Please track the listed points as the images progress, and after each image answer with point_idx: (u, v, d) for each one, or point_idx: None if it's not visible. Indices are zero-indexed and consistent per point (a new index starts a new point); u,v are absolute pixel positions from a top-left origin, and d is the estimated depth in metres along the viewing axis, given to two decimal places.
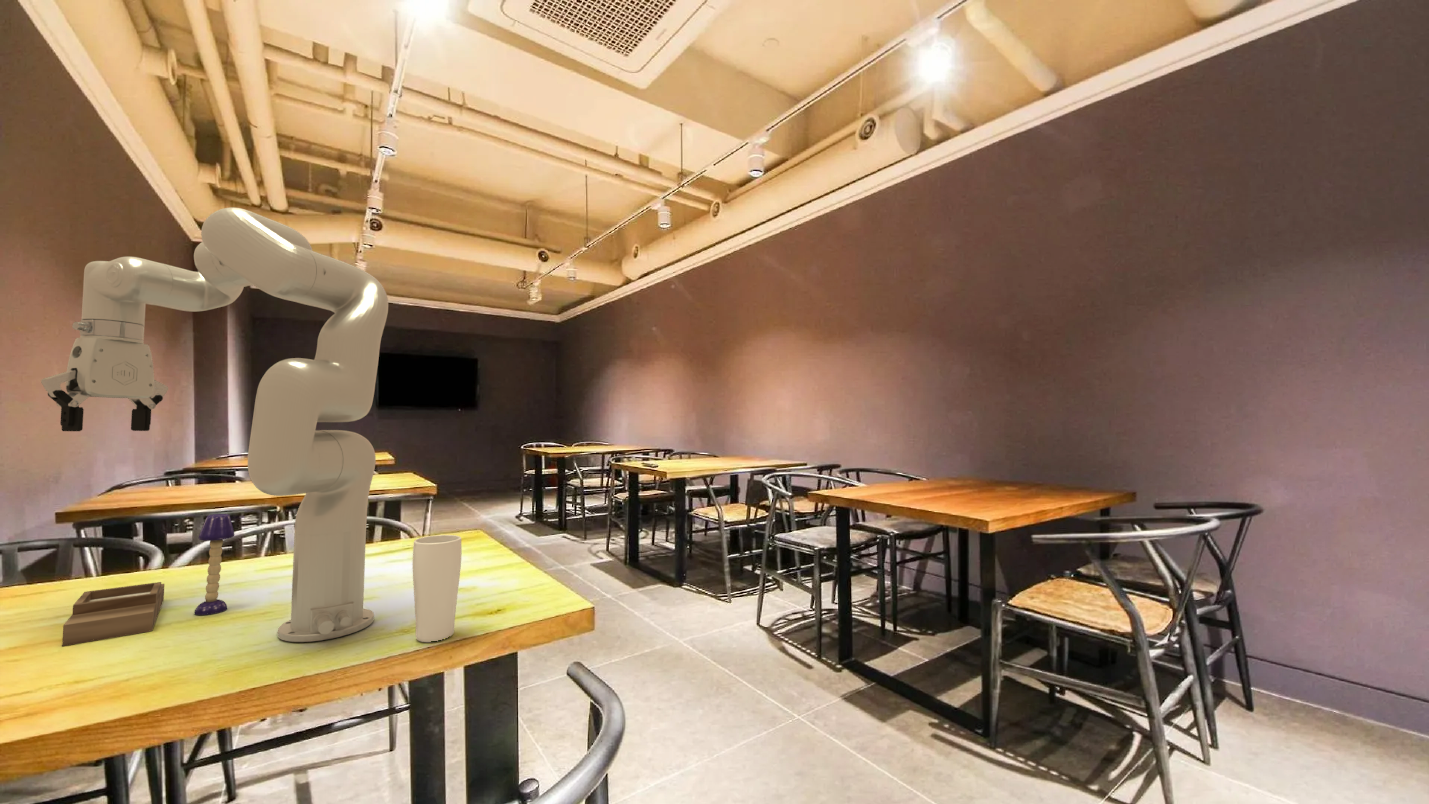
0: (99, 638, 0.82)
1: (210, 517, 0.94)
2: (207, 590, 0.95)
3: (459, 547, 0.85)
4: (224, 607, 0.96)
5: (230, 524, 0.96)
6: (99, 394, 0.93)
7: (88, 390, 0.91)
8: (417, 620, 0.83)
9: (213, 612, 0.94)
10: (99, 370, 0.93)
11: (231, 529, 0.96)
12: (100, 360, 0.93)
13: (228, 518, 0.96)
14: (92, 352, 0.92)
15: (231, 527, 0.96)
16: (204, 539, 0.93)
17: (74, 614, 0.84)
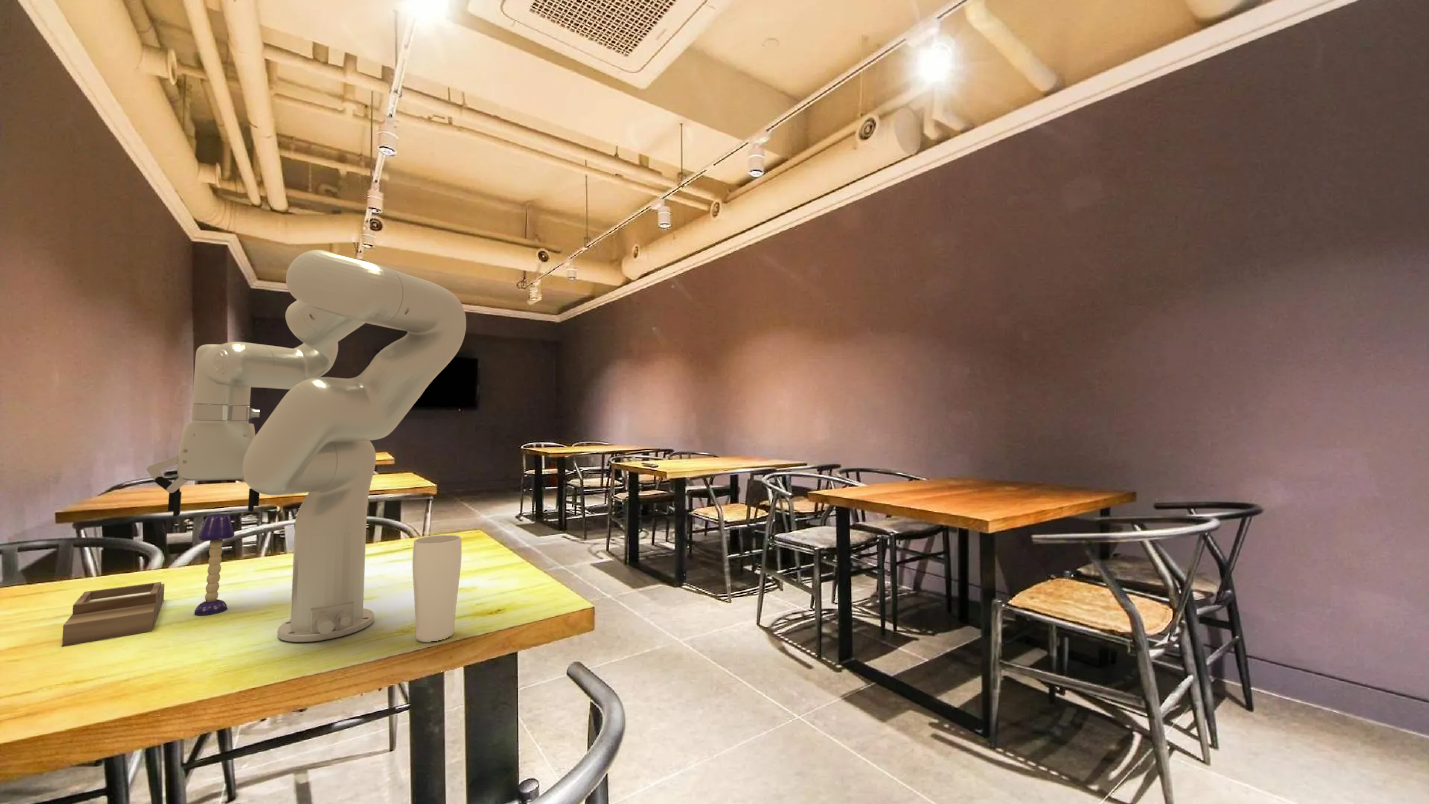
0: (99, 638, 0.82)
1: (210, 517, 0.94)
2: (207, 590, 0.95)
3: (459, 547, 0.85)
4: (224, 607, 0.96)
5: (230, 524, 0.96)
6: None
7: None
8: (417, 620, 0.83)
9: (213, 612, 0.94)
10: None
11: (231, 529, 0.96)
12: None
13: (228, 518, 0.96)
14: None
15: (231, 527, 0.96)
16: (204, 539, 0.93)
17: (74, 614, 0.84)
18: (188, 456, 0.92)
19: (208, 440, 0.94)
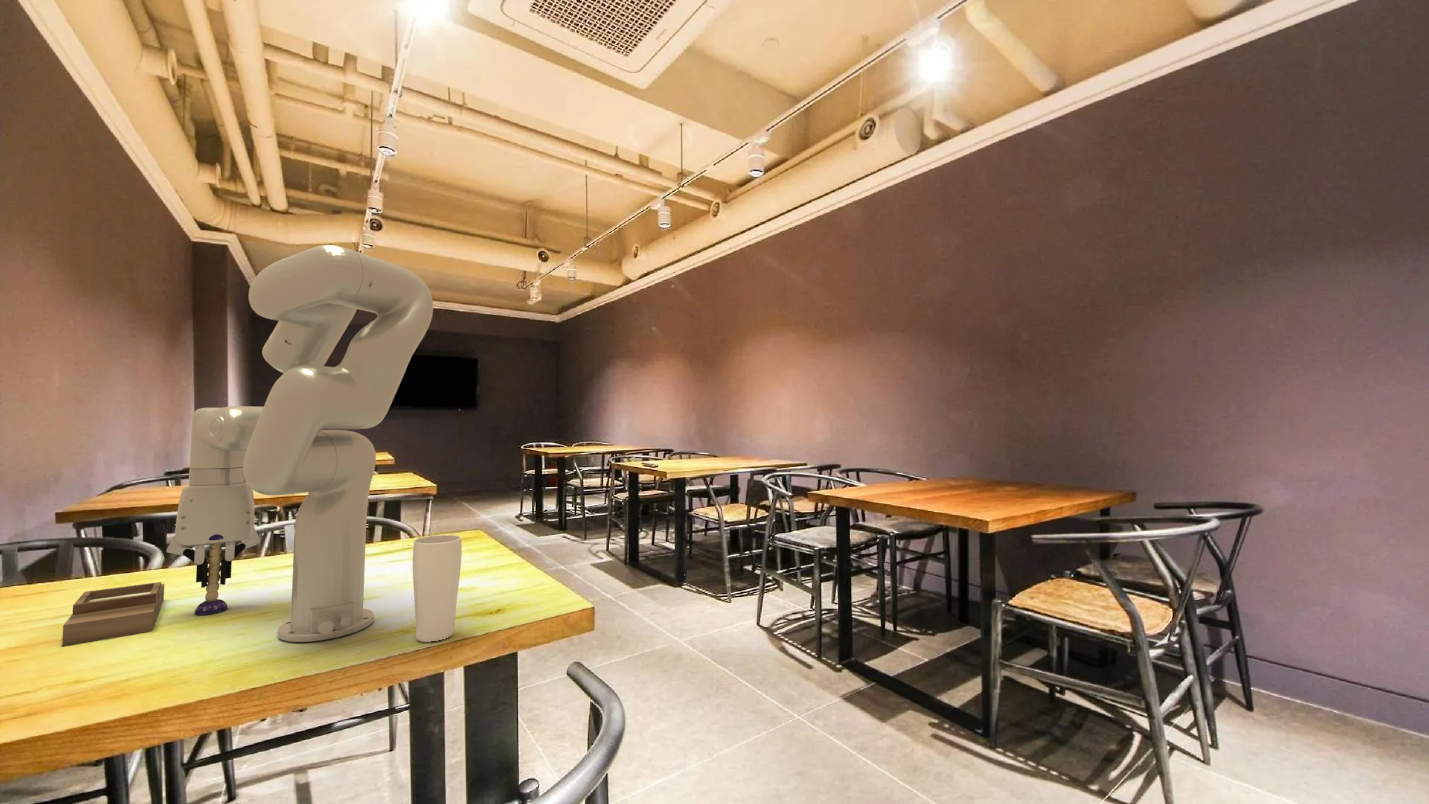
0: (99, 638, 0.82)
1: None
2: (207, 590, 0.95)
3: (459, 547, 0.85)
4: (224, 606, 0.96)
5: None
6: None
7: None
8: (417, 620, 0.83)
9: (214, 612, 0.94)
10: None
11: None
12: None
13: None
14: None
15: None
16: None
17: (74, 614, 0.84)
18: (186, 522, 0.92)
19: (206, 505, 0.93)
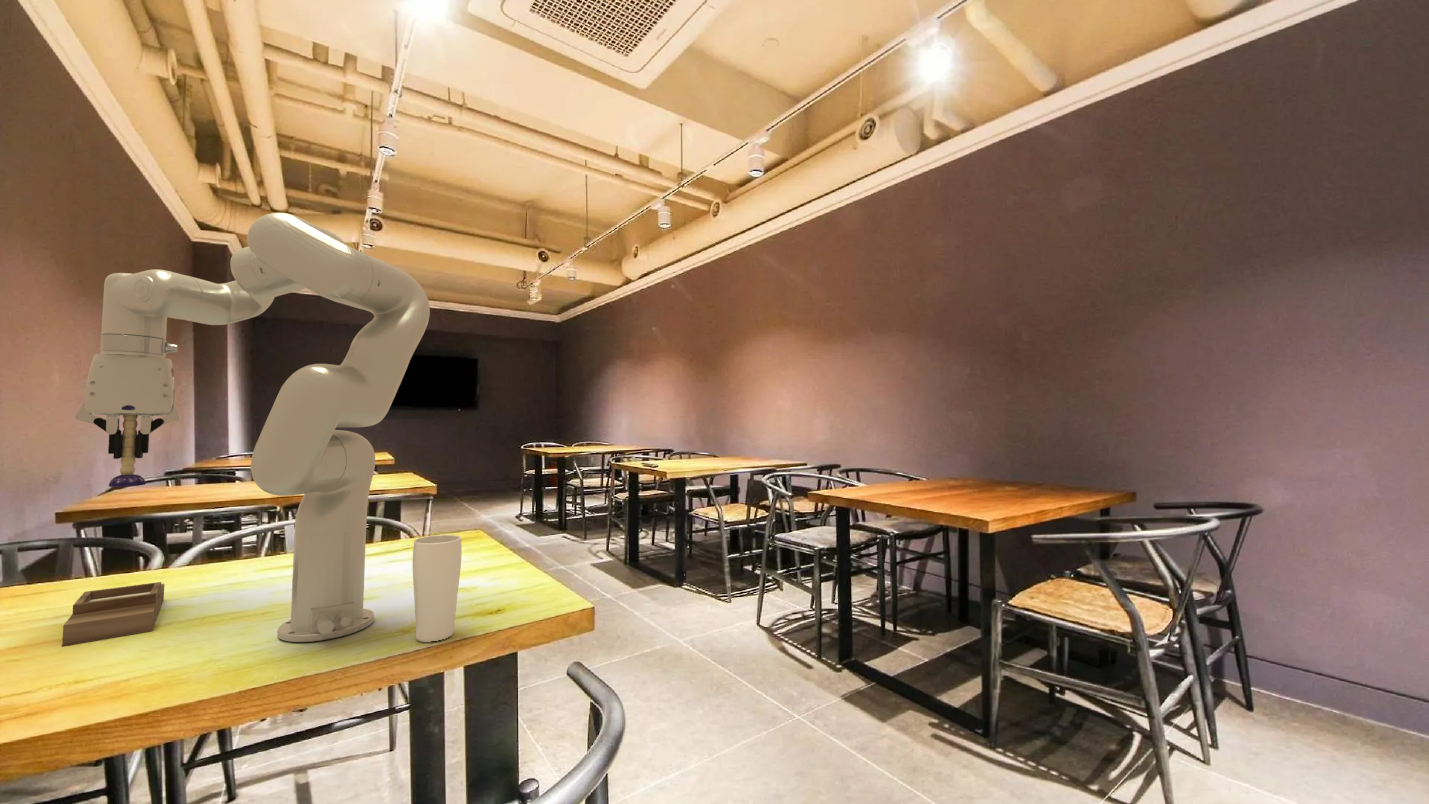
0: (99, 638, 0.82)
1: None
2: (122, 463, 0.91)
3: (459, 547, 0.85)
4: (141, 481, 0.92)
5: None
6: None
7: None
8: (417, 620, 0.83)
9: (129, 485, 0.90)
10: None
11: None
12: None
13: None
14: None
15: None
16: None
17: (74, 614, 0.84)
18: (96, 388, 0.88)
19: (118, 372, 0.90)
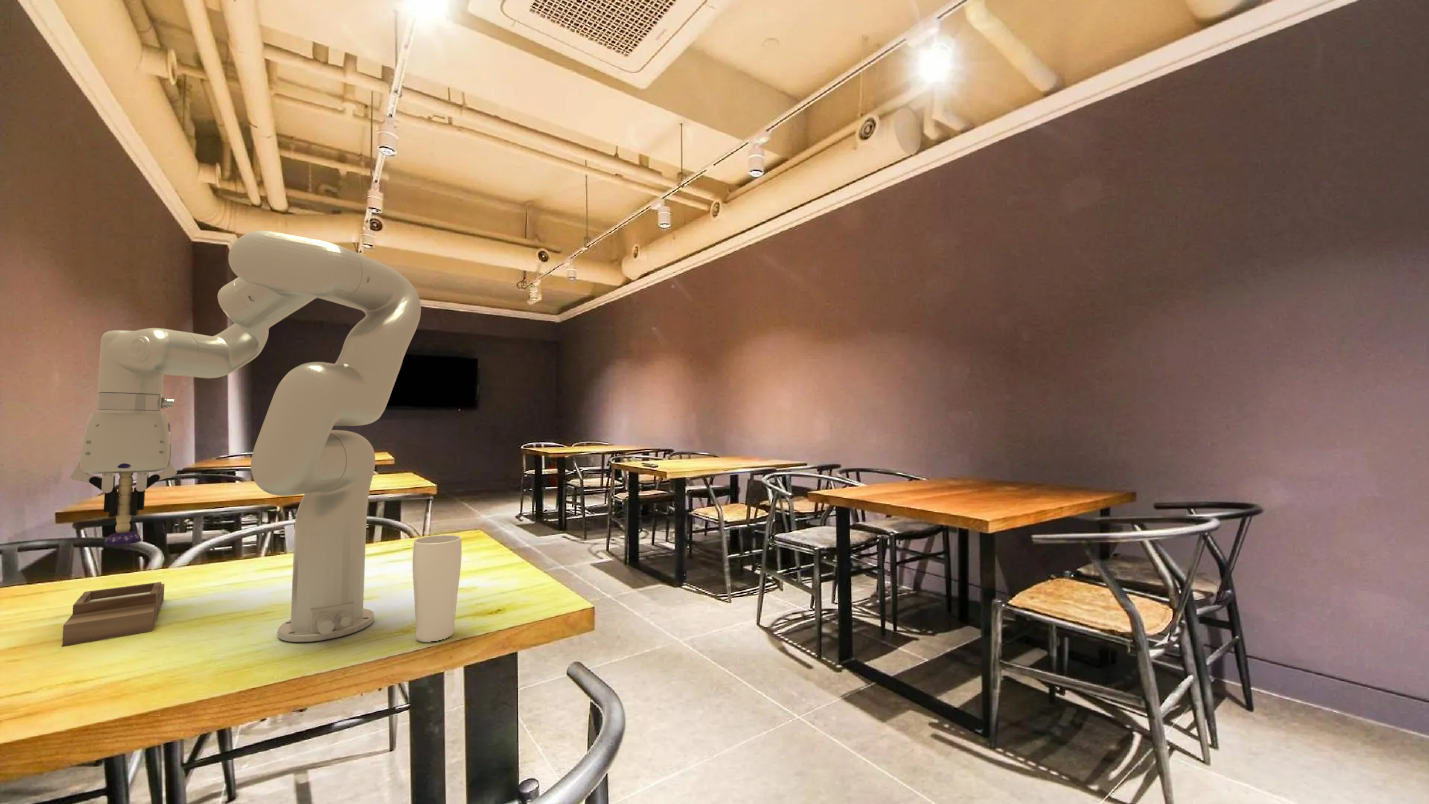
0: (99, 638, 0.82)
1: None
2: (117, 521, 0.91)
3: (459, 547, 0.85)
4: (137, 538, 0.92)
5: None
6: None
7: None
8: (417, 620, 0.83)
9: (124, 543, 0.90)
10: None
11: None
12: None
13: None
14: None
15: None
16: None
17: (74, 614, 0.84)
18: (91, 448, 0.88)
19: (114, 431, 0.89)
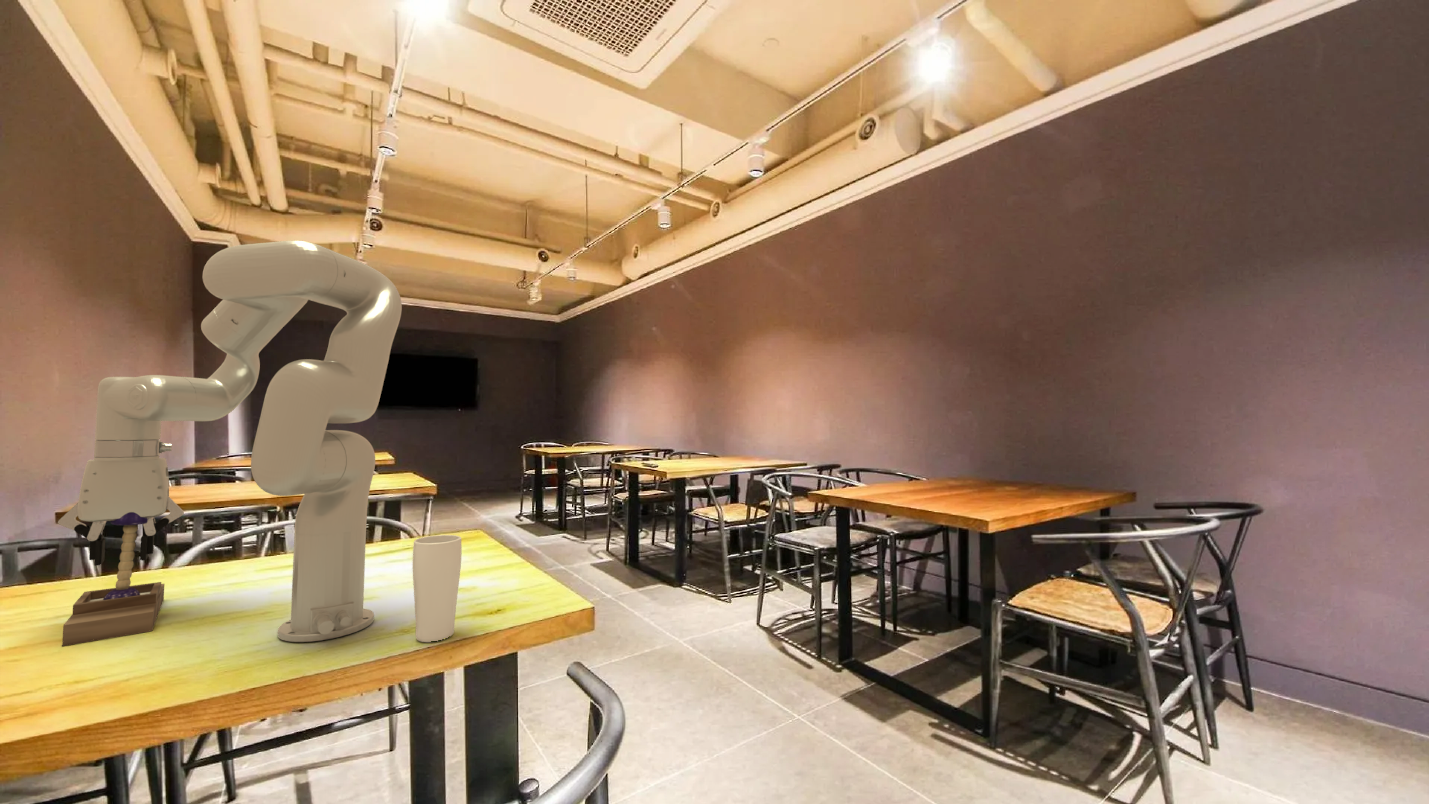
0: (99, 638, 0.82)
1: None
2: (118, 577, 0.90)
3: (459, 547, 0.85)
4: (136, 595, 0.91)
5: None
6: None
7: None
8: (417, 620, 0.83)
9: None
10: None
11: None
12: None
13: None
14: None
15: None
16: (116, 523, 0.89)
17: (74, 614, 0.84)
18: (89, 496, 0.87)
19: (112, 478, 0.89)
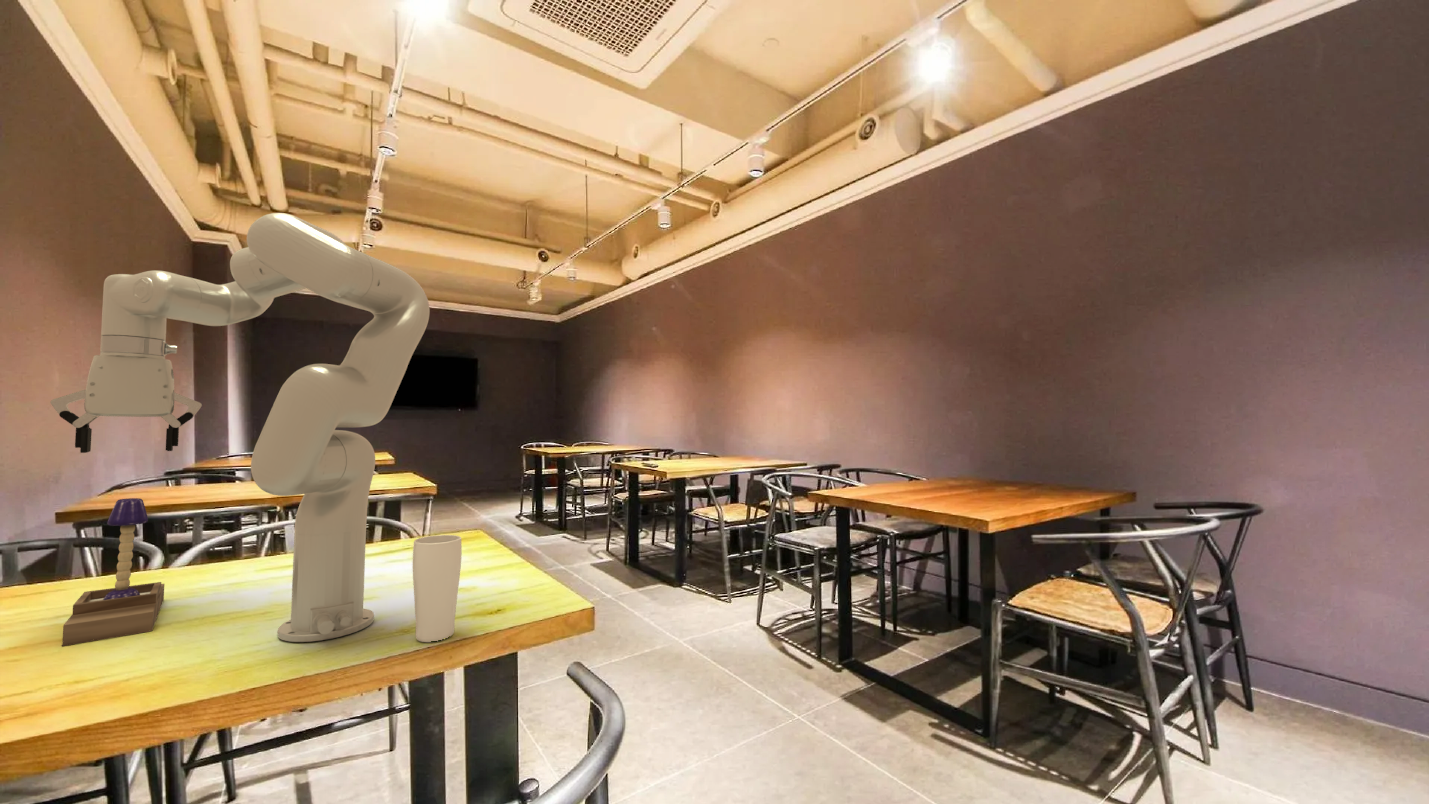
0: (99, 638, 0.82)
1: (120, 501, 0.90)
2: (117, 578, 0.90)
3: (459, 547, 0.85)
4: (136, 595, 0.91)
5: (143, 509, 0.92)
6: None
7: None
8: (417, 620, 0.83)
9: None
10: None
11: (144, 514, 0.92)
12: None
13: (140, 502, 0.92)
14: None
15: (144, 512, 0.92)
16: (113, 524, 0.89)
17: (74, 614, 0.84)
18: (96, 390, 0.88)
19: (118, 373, 0.90)
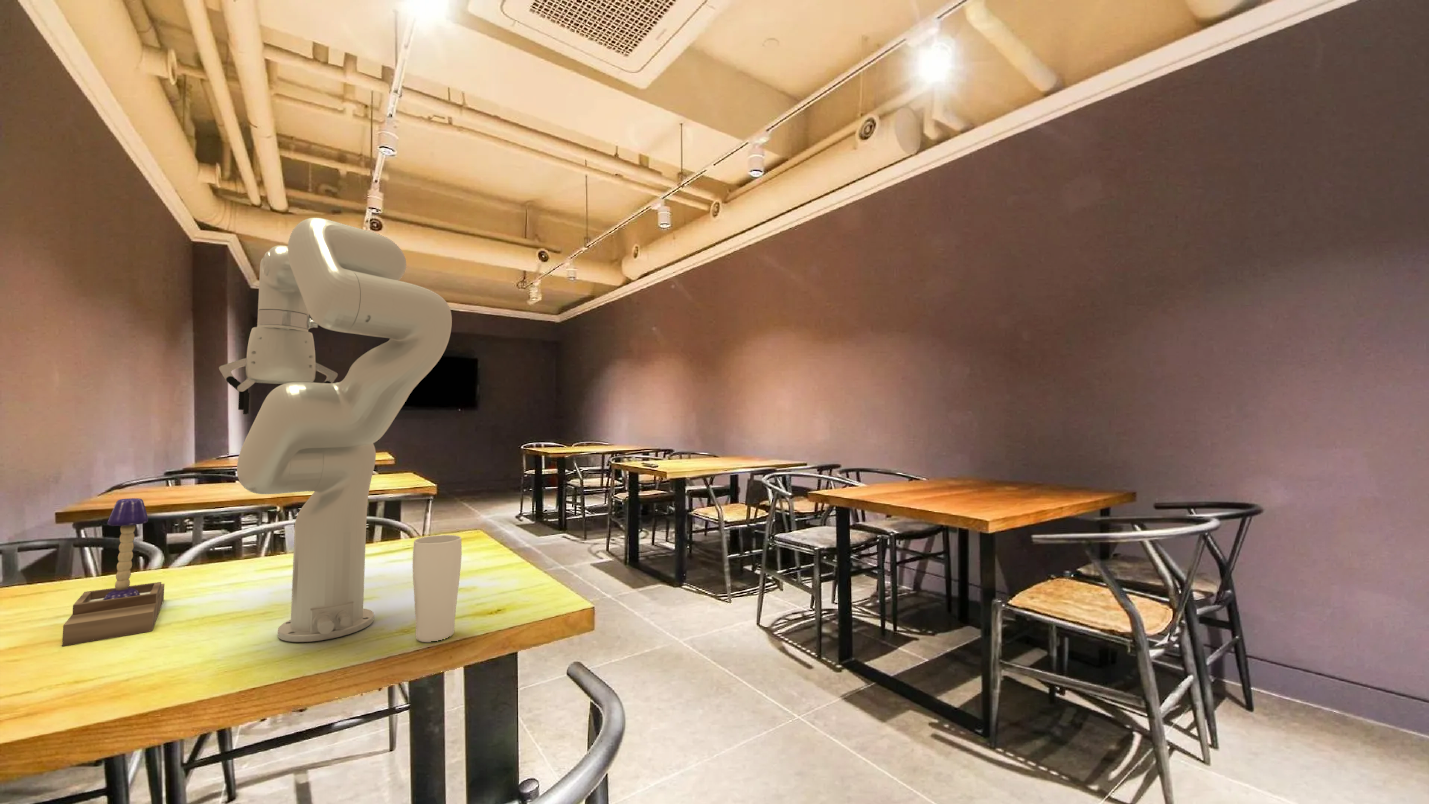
0: (99, 638, 0.82)
1: (120, 501, 0.90)
2: (117, 578, 0.90)
3: (459, 547, 0.85)
4: (136, 595, 0.91)
5: (143, 509, 0.92)
6: None
7: None
8: (417, 620, 0.83)
9: None
10: None
11: (144, 514, 0.92)
12: None
13: (140, 503, 0.92)
14: None
15: (144, 512, 0.92)
16: (113, 524, 0.89)
17: (74, 614, 0.84)
18: (256, 358, 0.98)
19: (274, 344, 1.00)
